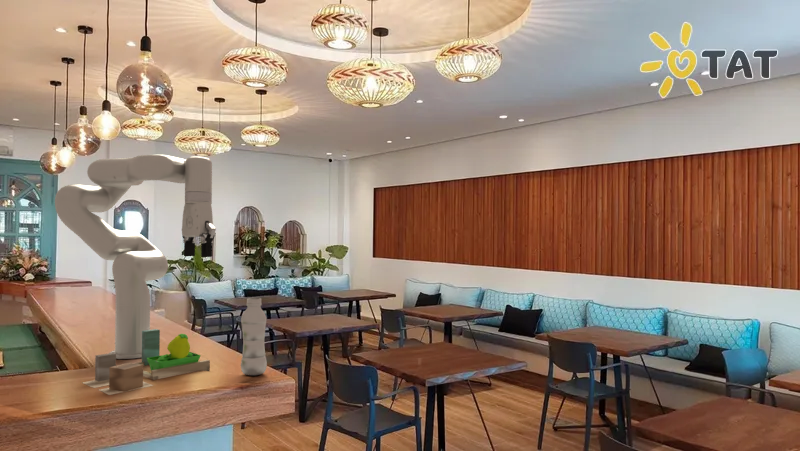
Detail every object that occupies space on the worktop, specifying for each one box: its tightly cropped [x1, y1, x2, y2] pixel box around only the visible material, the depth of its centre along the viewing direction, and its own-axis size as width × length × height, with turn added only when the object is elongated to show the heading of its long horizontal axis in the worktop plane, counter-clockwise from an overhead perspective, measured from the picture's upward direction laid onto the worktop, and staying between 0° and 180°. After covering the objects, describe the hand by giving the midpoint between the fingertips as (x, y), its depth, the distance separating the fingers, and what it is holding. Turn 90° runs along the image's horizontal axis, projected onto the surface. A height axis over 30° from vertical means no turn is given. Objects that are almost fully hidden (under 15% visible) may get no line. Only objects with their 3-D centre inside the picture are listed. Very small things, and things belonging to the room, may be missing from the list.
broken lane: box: [82, 352, 154, 396], centre depth 130 cm, size 16×10×7 cm, turn 50°
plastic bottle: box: [240, 297, 268, 377], centre depth 144 cm, size 6×7×20 cm
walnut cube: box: [108, 362, 144, 393], centre depth 127 cm, size 5×5×5 cm
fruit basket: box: [147, 333, 201, 371], centre depth 143 cm, size 11×9×11 cm
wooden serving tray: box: [134, 328, 211, 381], centre depth 146 cm, size 18×15×10 cm
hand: (197, 256), depth 162 cm, fingers open, 9 cm apart
